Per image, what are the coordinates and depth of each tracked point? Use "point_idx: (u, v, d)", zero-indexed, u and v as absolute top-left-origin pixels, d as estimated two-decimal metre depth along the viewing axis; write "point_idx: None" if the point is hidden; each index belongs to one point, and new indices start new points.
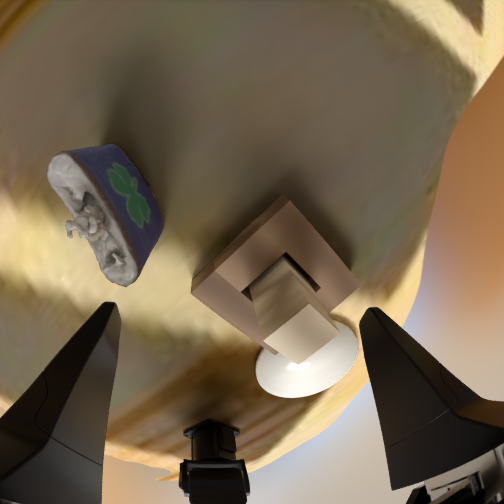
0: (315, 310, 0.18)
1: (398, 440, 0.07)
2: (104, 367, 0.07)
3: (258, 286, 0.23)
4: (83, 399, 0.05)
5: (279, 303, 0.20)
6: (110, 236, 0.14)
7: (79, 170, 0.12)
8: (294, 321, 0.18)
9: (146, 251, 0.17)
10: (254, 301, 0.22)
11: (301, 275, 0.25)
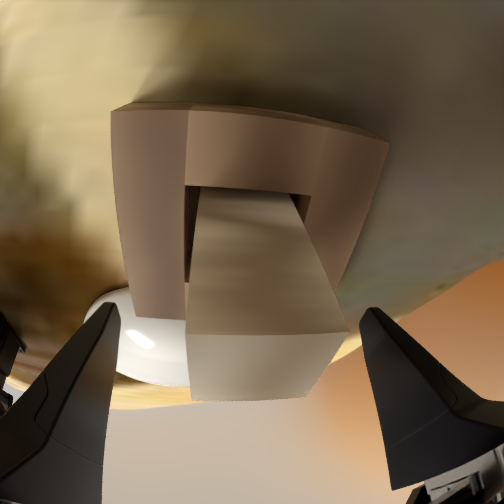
0: (336, 349, 0.07)
1: (398, 440, 0.07)
2: (104, 367, 0.07)
3: (222, 203, 0.11)
4: (83, 399, 0.05)
5: (263, 271, 0.08)
6: None
7: None
8: (288, 343, 0.07)
9: None
10: (200, 221, 0.10)
11: None
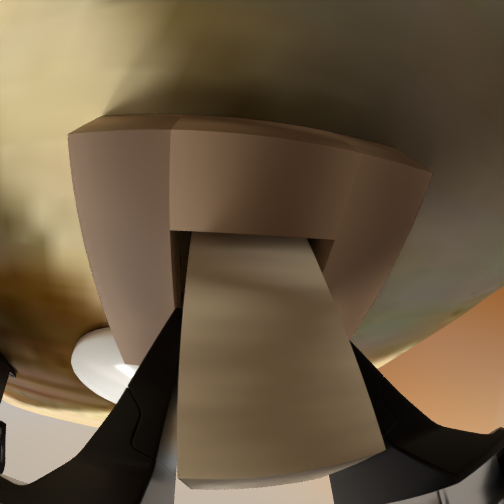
0: (365, 458, 0.04)
1: None
2: None
3: (221, 254, 0.08)
4: (173, 412, 0.06)
5: (278, 373, 0.05)
6: None
7: None
8: (311, 471, 0.04)
9: None
10: (191, 287, 0.07)
11: None
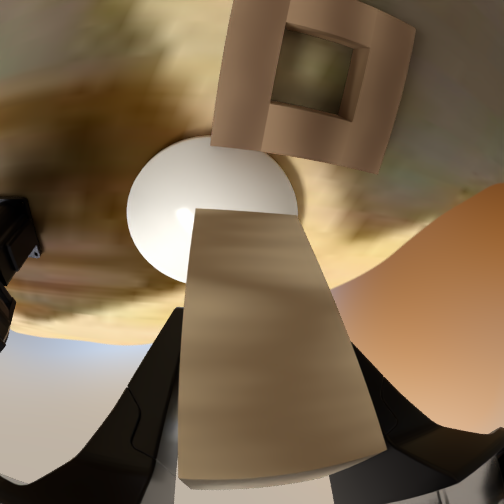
0: (366, 458, 0.04)
1: None
2: None
3: (221, 254, 0.08)
4: (173, 412, 0.06)
5: (279, 373, 0.05)
6: None
7: None
8: (312, 471, 0.04)
9: None
10: (191, 287, 0.07)
11: None
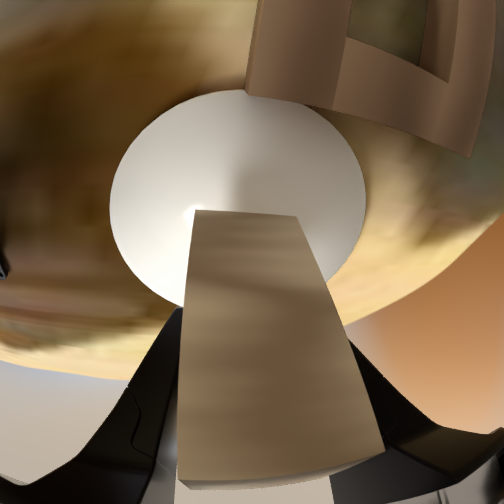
0: (364, 459, 0.04)
1: None
2: None
3: (220, 255, 0.08)
4: (173, 411, 0.06)
5: (278, 375, 0.05)
6: None
7: None
8: (310, 472, 0.04)
9: None
10: (191, 289, 0.07)
11: None
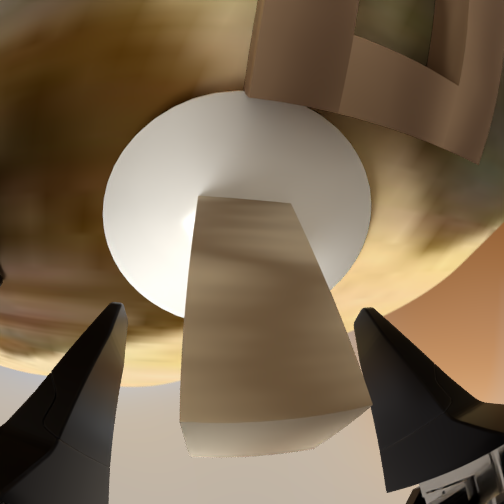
0: (354, 417, 0.05)
1: (392, 441, 0.07)
2: (112, 368, 0.07)
3: (221, 233, 0.09)
4: (91, 401, 0.05)
5: (272, 331, 0.06)
6: None
7: None
8: (302, 422, 0.05)
9: None
10: (195, 260, 0.08)
11: None
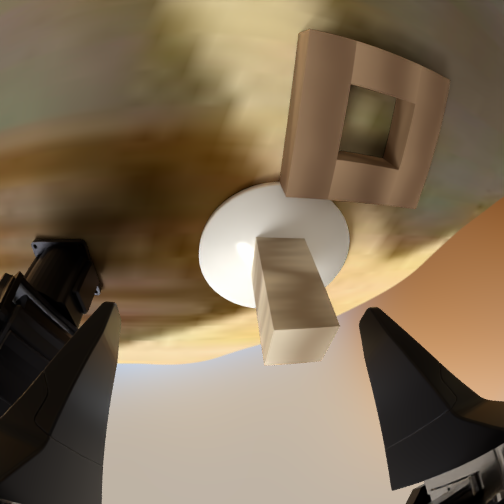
0: (334, 334, 0.16)
1: (397, 439, 0.07)
2: (104, 367, 0.07)
3: (273, 259, 0.20)
4: (83, 399, 0.05)
5: (301, 300, 0.17)
6: None
7: None
8: (314, 331, 0.16)
9: None
10: (265, 273, 0.19)
11: None
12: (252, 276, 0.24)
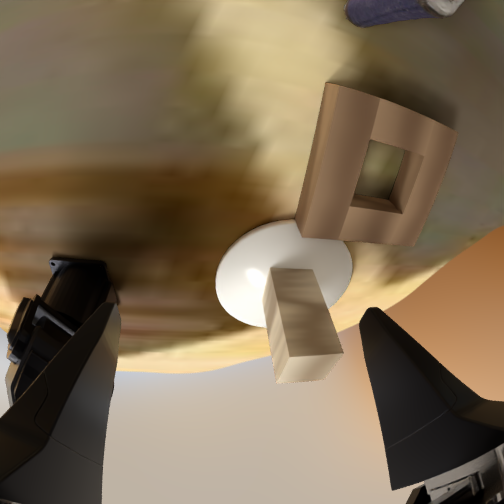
0: (338, 359, 0.18)
1: (398, 439, 0.07)
2: (104, 367, 0.07)
3: (286, 290, 0.22)
4: (83, 399, 0.05)
5: (311, 329, 0.19)
6: None
7: None
8: (322, 357, 0.18)
9: None
10: (280, 304, 0.21)
11: None
12: (263, 301, 0.26)
